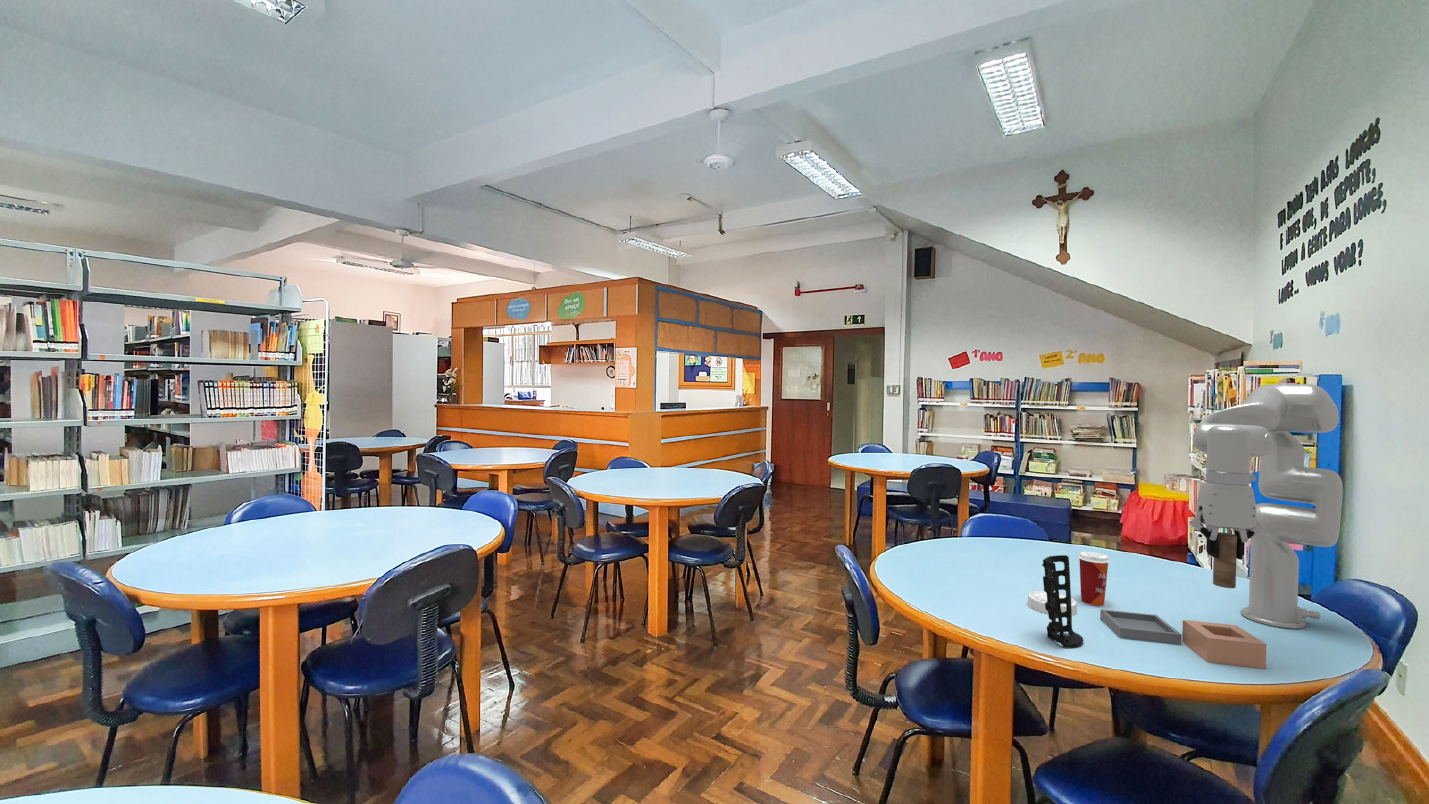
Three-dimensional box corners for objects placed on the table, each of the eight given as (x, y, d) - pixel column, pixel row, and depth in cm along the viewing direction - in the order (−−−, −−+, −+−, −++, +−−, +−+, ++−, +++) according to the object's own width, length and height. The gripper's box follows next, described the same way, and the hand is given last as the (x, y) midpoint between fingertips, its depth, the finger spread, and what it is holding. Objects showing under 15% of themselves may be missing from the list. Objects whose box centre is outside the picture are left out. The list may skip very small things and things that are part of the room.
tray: (1156, 624, 153) (1156, 615, 153) (1181, 644, 140) (1181, 634, 140) (1100, 618, 156) (1100, 609, 156) (1119, 637, 144) (1120, 627, 144)
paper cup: (1107, 609, 163) (1108, 560, 163) (1075, 603, 168) (1076, 555, 168) (1109, 601, 169) (1110, 554, 169) (1078, 595, 174) (1079, 549, 174)
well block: (1235, 647, 139) (1236, 625, 139) (1265, 668, 128) (1266, 644, 128) (1182, 641, 142) (1182, 619, 142) (1206, 661, 131) (1207, 637, 131)
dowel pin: (1229, 583, 136) (1230, 533, 136) (1239, 589, 133) (1241, 537, 132) (1209, 581, 138) (1210, 531, 137) (1218, 587, 134) (1220, 535, 133)
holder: (1083, 651, 135) (1076, 565, 136) (1046, 646, 139) (1039, 562, 140) (1083, 635, 144) (1076, 555, 145) (1048, 631, 148) (1041, 553, 149)
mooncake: (1081, 620, 156) (1082, 606, 156) (1031, 613, 160) (1032, 600, 160) (1071, 604, 167) (1071, 592, 167) (1024, 599, 171) (1025, 587, 171)
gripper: (1260, 478, 136) (1258, 556, 136) (1176, 475, 140) (1174, 549, 141) (1282, 483, 129) (1279, 565, 129) (1193, 479, 133) (1191, 558, 134)
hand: (1224, 556), depth 135 cm, fingers closed on dowel pin, 4 cm apart
